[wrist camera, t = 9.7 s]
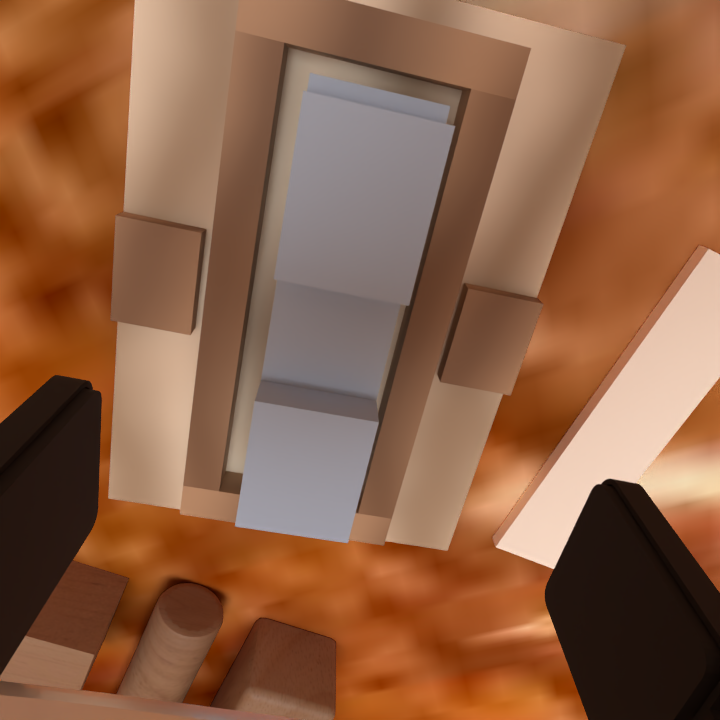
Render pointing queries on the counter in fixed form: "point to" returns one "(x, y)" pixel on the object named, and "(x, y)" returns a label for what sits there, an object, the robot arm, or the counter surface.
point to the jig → (264, 224)
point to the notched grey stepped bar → (338, 300)
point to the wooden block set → (175, 650)
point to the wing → (626, 412)
